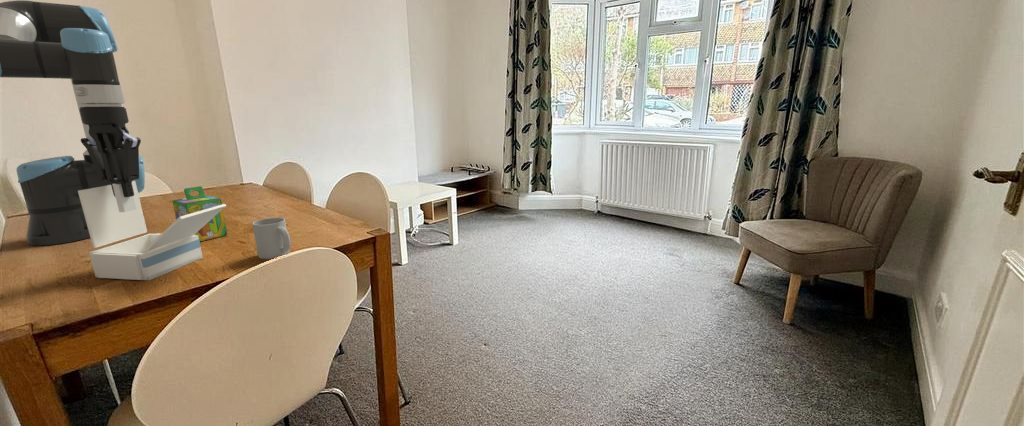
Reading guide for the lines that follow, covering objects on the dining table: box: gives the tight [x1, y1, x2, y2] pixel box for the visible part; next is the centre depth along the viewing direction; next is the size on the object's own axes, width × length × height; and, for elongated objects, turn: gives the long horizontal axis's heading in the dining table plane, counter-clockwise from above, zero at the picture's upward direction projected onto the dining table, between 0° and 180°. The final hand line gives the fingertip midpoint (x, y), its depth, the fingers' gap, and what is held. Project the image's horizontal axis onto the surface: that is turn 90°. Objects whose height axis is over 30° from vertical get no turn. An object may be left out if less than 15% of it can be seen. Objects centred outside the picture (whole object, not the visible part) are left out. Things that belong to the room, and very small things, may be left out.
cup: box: [252, 217, 292, 260], centre depth 108 cm, size 7×10×9 cm
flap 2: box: [145, 203, 227, 251], centre depth 97 cm, size 1×12×13 cm
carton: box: [88, 232, 204, 281], centre depth 101 cm, size 14×15×6 cm
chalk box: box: [171, 185, 228, 242], centre depth 123 cm, size 9×9×15 cm
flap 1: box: [78, 181, 148, 249], centre depth 99 cm, size 1×12×13 cm, turn 171°
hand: (127, 210), depth 99 cm, fingers closed
